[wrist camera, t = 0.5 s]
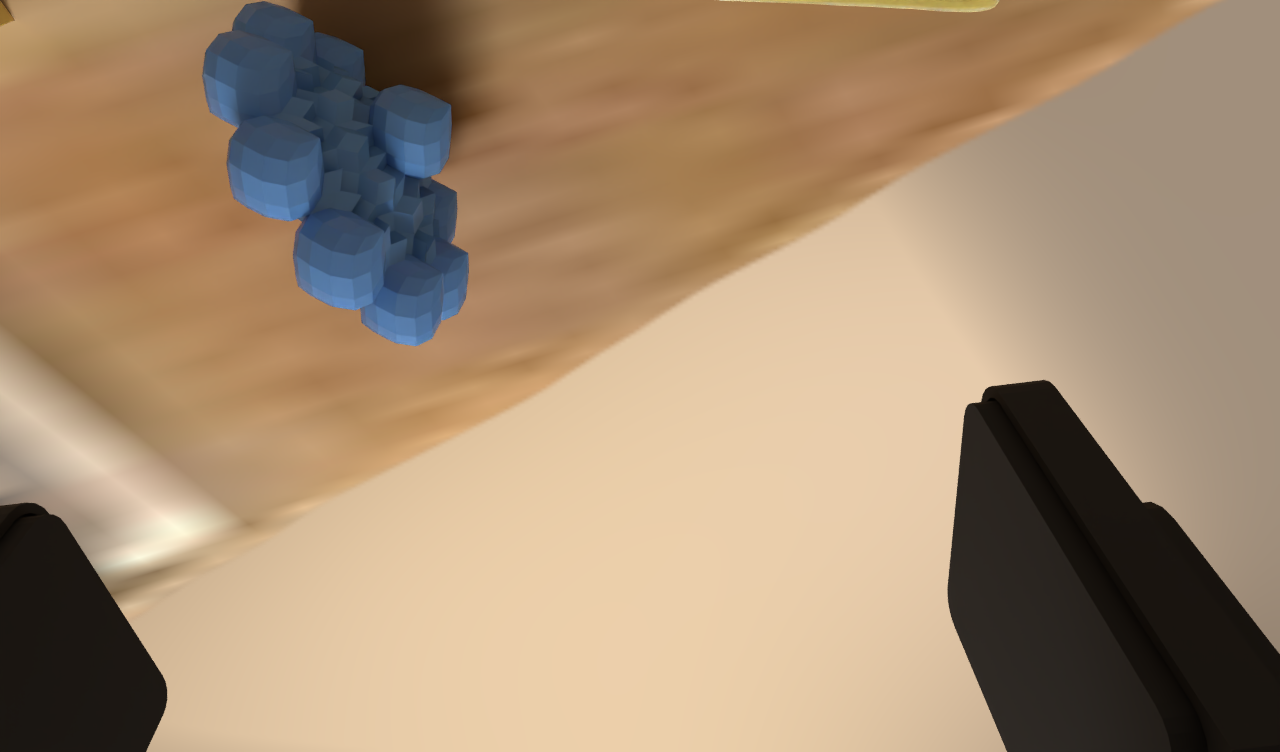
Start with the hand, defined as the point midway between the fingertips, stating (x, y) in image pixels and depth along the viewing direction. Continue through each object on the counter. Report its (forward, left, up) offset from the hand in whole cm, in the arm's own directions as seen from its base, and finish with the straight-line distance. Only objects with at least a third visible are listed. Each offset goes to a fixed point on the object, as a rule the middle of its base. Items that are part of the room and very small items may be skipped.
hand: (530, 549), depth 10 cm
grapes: (+3, -7, -28) cm, 30 cm away
